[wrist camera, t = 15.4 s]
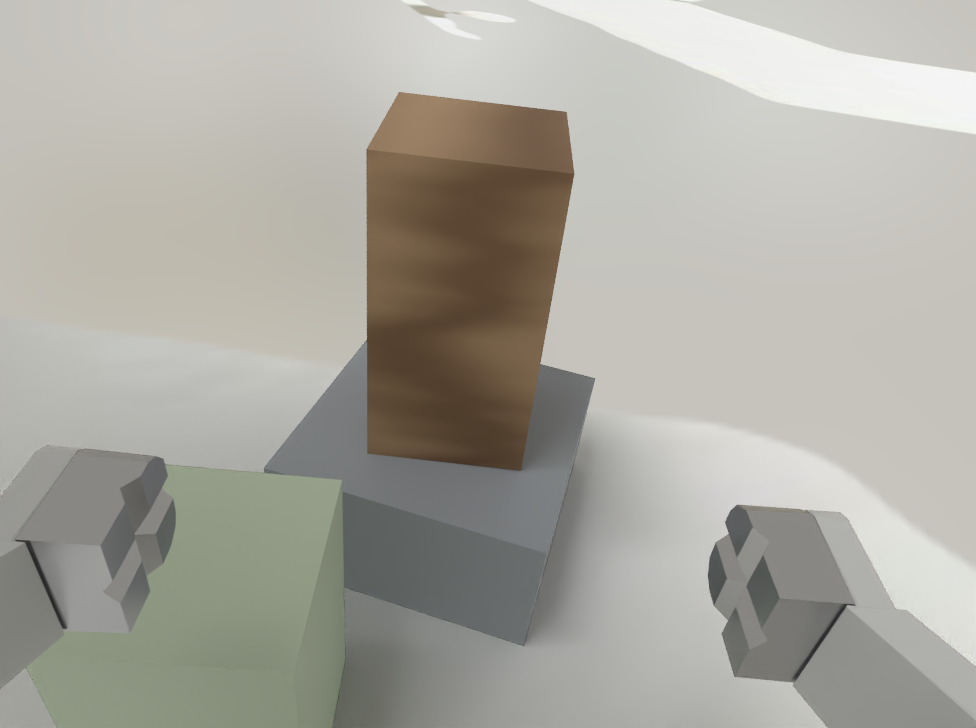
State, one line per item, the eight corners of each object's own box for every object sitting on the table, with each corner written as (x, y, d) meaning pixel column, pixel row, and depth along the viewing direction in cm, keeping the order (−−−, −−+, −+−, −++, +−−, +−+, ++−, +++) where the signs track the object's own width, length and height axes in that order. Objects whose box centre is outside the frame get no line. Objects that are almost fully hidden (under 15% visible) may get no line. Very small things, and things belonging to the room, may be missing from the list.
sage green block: (109, 830, 18) (18, 652, 13) (182, 647, 22) (133, 461, 17) (310, 843, 18) (293, 673, 13) (345, 659, 22) (342, 479, 17)
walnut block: (367, 453, 23) (366, 149, 17) (392, 362, 27) (398, 92, 21) (521, 470, 23) (574, 173, 17) (523, 377, 27) (566, 111, 21)
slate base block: (275, 569, 25) (264, 468, 22) (378, 415, 32) (380, 323, 29) (522, 650, 23) (546, 553, 20) (572, 469, 30) (595, 378, 27)
